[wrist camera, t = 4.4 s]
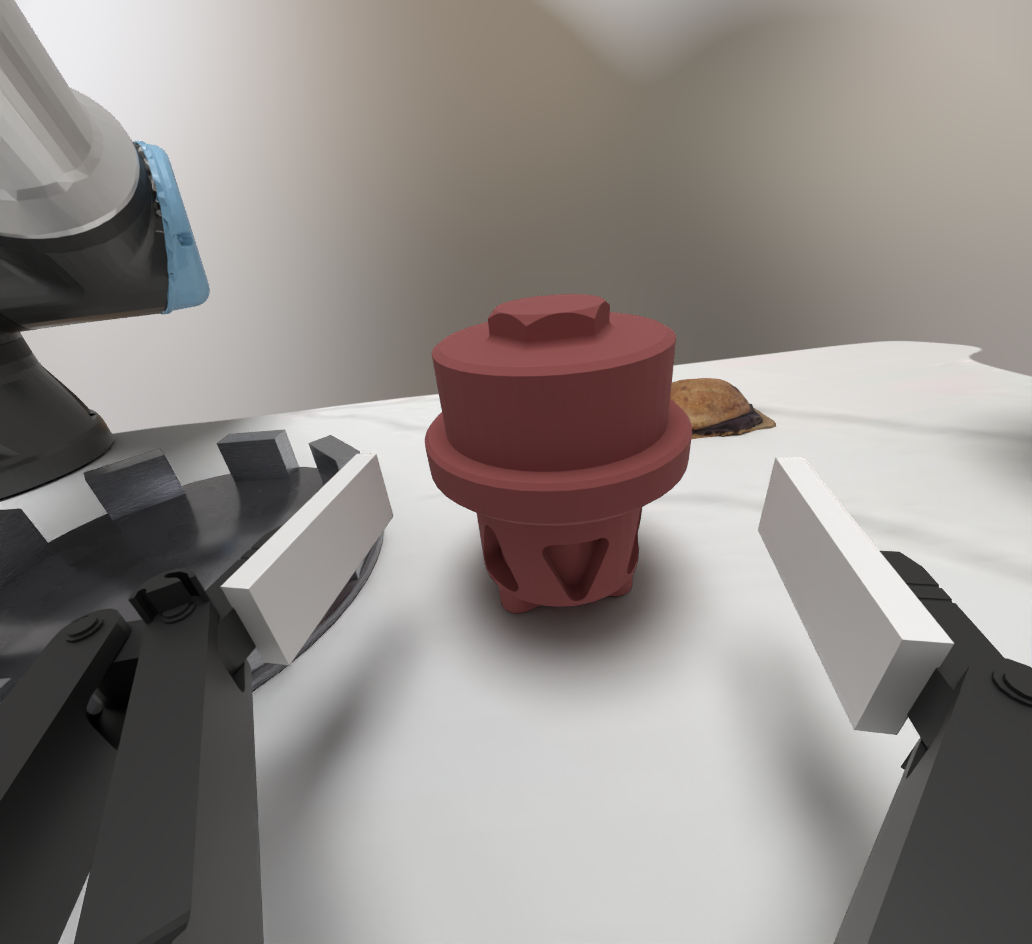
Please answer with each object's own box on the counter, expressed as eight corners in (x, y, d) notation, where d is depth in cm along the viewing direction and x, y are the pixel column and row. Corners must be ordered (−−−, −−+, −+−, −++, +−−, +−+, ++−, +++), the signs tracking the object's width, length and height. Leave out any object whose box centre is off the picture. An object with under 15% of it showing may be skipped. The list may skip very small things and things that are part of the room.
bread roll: (727, 399, 39) (733, 358, 38) (783, 438, 32) (795, 390, 30) (610, 410, 39) (612, 370, 37) (640, 452, 32) (643, 405, 30)
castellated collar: (141, 484, 33) (115, 442, 31) (415, 463, 32) (405, 418, 30) (-323, 812, 15) (-450, 754, 13) (286, 782, 14) (242, 716, 12)
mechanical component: (717, 580, 20) (550, 721, 15) (566, 494, 27) (420, 570, 22) (775, 288, 14) (523, 365, 9) (559, 277, 21) (355, 316, 16)
